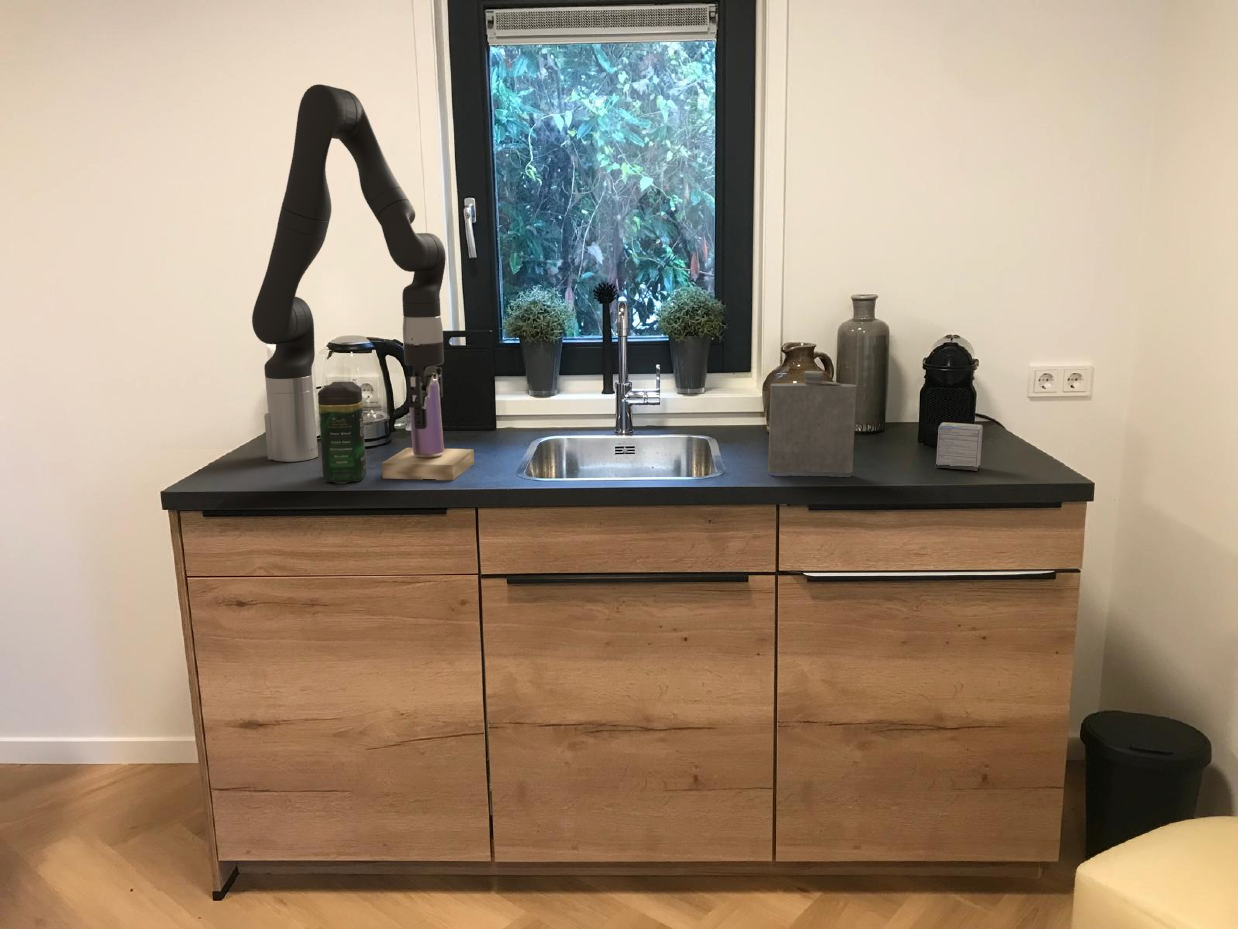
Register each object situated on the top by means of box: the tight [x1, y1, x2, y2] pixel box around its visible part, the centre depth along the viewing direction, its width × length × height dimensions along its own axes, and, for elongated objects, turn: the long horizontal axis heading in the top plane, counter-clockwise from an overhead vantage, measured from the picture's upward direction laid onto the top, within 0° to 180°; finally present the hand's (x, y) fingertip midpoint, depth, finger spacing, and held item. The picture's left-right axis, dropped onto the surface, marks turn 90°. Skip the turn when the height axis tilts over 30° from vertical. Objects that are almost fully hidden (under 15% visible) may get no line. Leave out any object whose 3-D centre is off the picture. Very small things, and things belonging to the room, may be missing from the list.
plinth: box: [381, 447, 475, 481], centre depth 200 cm, size 14×14×3 cm
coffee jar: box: [317, 381, 367, 484], centre depth 193 cm, size 10×8×19 cm
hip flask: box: [767, 370, 857, 473], centre depth 194 cm, size 16×4×20 cm, turn 84°
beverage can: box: [408, 379, 445, 458], centre depth 199 cm, size 6×6×15 cm
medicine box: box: [935, 421, 984, 467], centre depth 199 cm, size 8×4×9 cm, turn 65°
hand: (427, 424), depth 199 cm, fingers open, 7 cm apart
